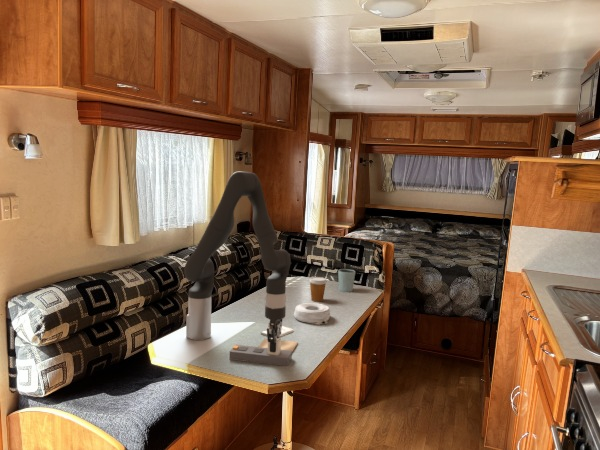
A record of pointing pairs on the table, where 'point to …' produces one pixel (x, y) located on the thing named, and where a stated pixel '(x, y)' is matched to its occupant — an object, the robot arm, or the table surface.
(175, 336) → the table surface
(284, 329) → the external hard drive
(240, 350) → the power strip
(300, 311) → the cable
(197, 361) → the table surface
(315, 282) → the disposable coffee cup
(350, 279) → the pale teal cup
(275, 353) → the charger
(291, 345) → the cork mat
